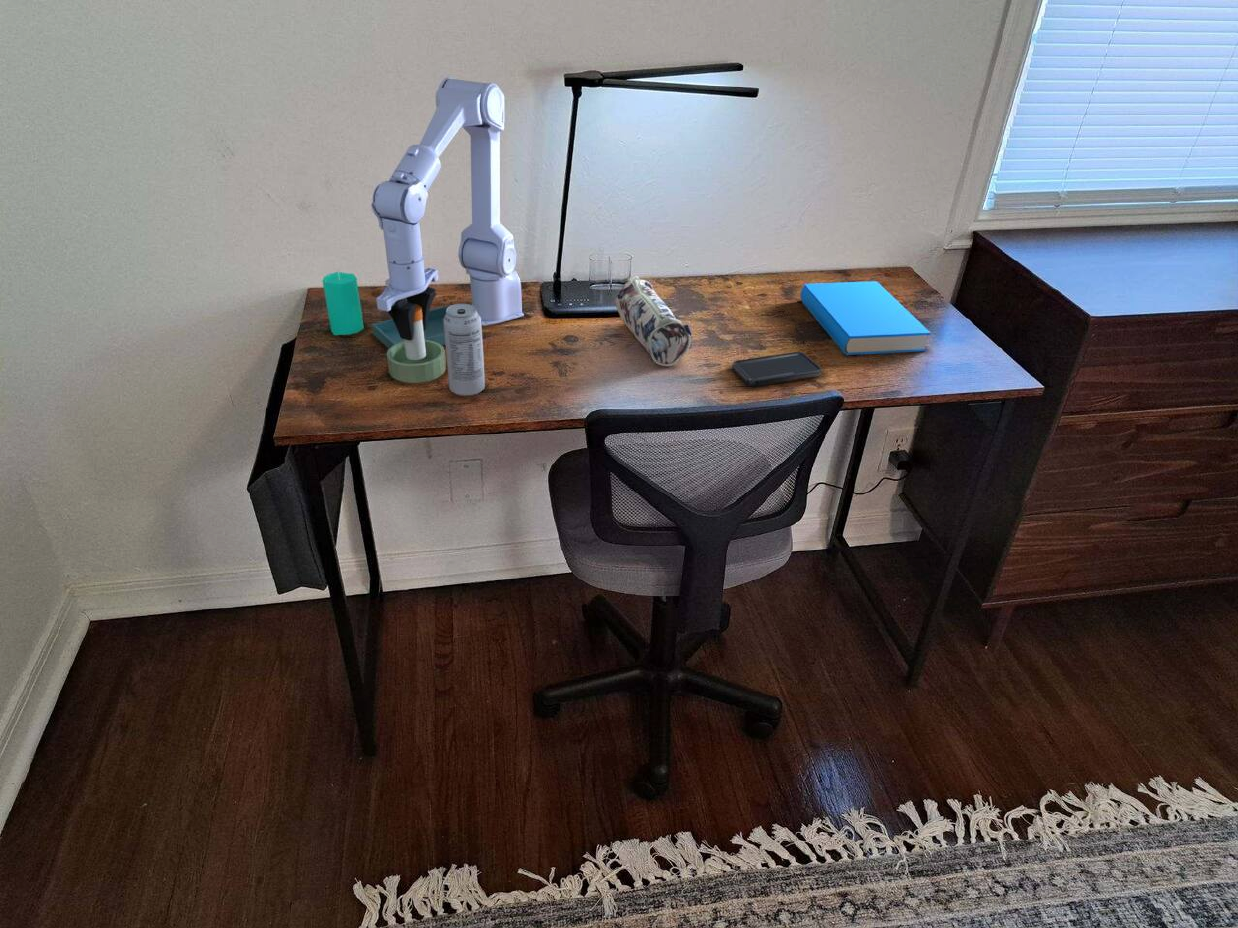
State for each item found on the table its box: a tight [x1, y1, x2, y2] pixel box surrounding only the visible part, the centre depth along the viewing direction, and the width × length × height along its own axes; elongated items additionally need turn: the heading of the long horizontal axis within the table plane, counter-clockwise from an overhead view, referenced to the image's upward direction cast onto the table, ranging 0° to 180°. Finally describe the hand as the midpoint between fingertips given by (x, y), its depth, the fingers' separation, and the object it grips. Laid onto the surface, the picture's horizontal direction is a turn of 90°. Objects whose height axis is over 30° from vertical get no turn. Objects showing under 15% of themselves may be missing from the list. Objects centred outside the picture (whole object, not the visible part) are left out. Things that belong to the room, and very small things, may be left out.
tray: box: [371, 304, 450, 349], centre depth 158 cm, size 16×11×2 cm
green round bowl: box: [386, 340, 447, 384], centre depth 147 cm, size 10×10×4 cm
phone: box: [731, 351, 823, 387], centre depth 152 cm, size 8×1×15 cm
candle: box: [322, 269, 365, 336], centre depth 157 cm, size 6×6×12 cm
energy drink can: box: [443, 303, 486, 397], centre depth 139 cm, size 6×6×15 cm
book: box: [800, 280, 931, 356], centre depth 170 cm, size 17×4×25 cm
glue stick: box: [404, 304, 426, 360], centre depth 144 cm, size 4×4×9 cm
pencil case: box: [614, 275, 693, 367], centre depth 158 cm, size 22×8×10 cm, turn 18°
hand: (413, 333), depth 144 cm, fingers closed on glue stick, 3 cm apart
